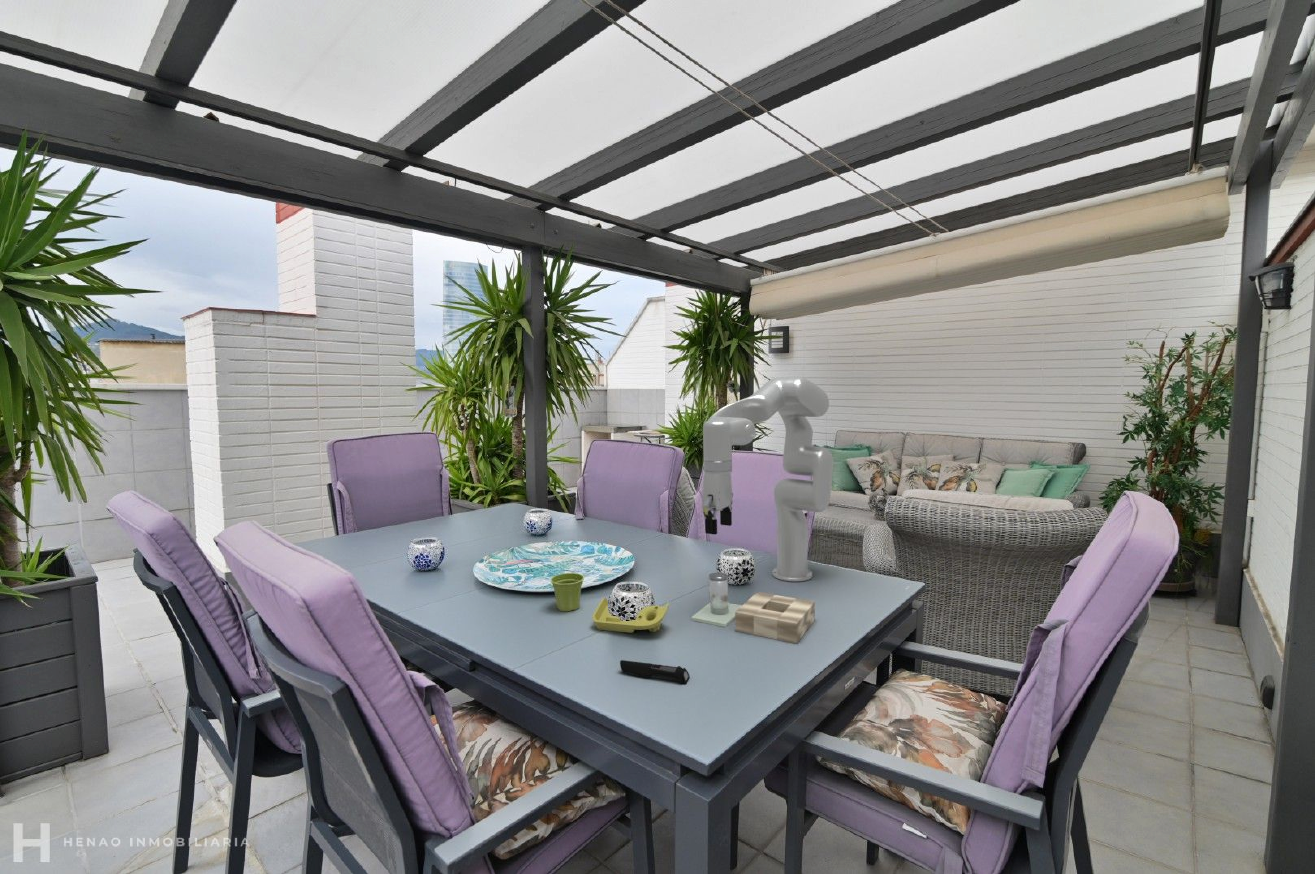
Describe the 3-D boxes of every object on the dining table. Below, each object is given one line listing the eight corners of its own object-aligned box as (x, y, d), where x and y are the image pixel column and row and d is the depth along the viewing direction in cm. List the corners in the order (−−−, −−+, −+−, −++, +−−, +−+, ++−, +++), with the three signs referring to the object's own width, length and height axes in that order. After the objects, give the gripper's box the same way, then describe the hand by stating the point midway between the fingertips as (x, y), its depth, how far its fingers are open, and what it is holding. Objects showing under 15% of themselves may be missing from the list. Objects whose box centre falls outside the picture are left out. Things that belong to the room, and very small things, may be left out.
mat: (713, 602, 173) (713, 600, 173) (745, 608, 168) (745, 605, 168) (691, 620, 161) (691, 617, 160) (725, 627, 156) (725, 624, 156)
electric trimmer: (624, 669, 135) (623, 655, 135) (690, 678, 130) (690, 664, 130) (617, 677, 132) (617, 663, 131) (685, 686, 127) (685, 672, 126)
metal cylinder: (714, 606, 167) (713, 571, 167) (731, 608, 165) (730, 573, 164) (707, 613, 163) (706, 577, 162) (725, 615, 161) (723, 579, 160)
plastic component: (589, 621, 156) (605, 593, 163) (598, 641, 159) (613, 613, 167) (658, 627, 147) (671, 598, 155) (666, 648, 150) (678, 618, 158)
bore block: (757, 609, 167) (757, 591, 167) (814, 619, 159) (814, 601, 159) (735, 630, 153) (735, 611, 153) (796, 643, 145) (796, 623, 145)
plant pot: (578, 615, 165) (577, 584, 165) (546, 613, 167) (545, 582, 167) (589, 602, 175) (588, 573, 174) (558, 600, 177) (557, 572, 176)
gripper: (718, 461, 169) (719, 520, 171) (690, 470, 155) (692, 535, 156) (743, 462, 166) (743, 523, 168) (717, 472, 151) (718, 539, 153)
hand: (718, 529), depth 162 cm, fingers open, 9 cm apart
